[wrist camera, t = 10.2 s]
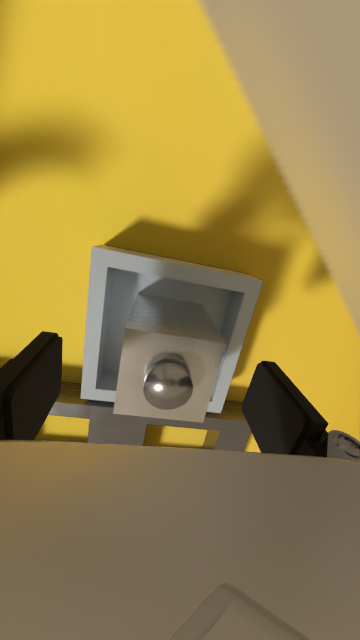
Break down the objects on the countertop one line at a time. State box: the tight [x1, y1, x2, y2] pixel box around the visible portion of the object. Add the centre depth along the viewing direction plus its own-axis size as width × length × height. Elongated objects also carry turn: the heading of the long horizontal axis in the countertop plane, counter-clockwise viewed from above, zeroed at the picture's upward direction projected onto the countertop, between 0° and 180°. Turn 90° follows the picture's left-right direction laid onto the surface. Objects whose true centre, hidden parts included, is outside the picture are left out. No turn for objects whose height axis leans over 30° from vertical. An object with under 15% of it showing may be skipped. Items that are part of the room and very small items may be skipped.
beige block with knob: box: [113, 293, 227, 423], centre depth 15 cm, size 5×5×8 cm
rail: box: [48, 382, 251, 452], centre depth 21 cm, size 24×9×2 cm, turn 78°
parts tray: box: [80, 245, 263, 413], centre depth 18 cm, size 11×11×3 cm
